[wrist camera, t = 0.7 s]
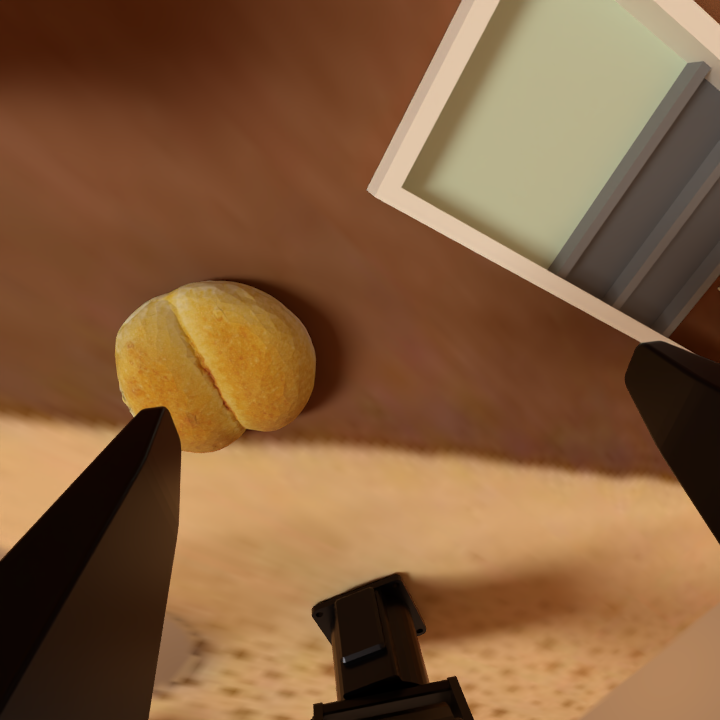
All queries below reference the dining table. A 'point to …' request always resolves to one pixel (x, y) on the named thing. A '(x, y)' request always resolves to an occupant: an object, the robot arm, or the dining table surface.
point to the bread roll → (216, 362)
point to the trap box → (573, 151)
